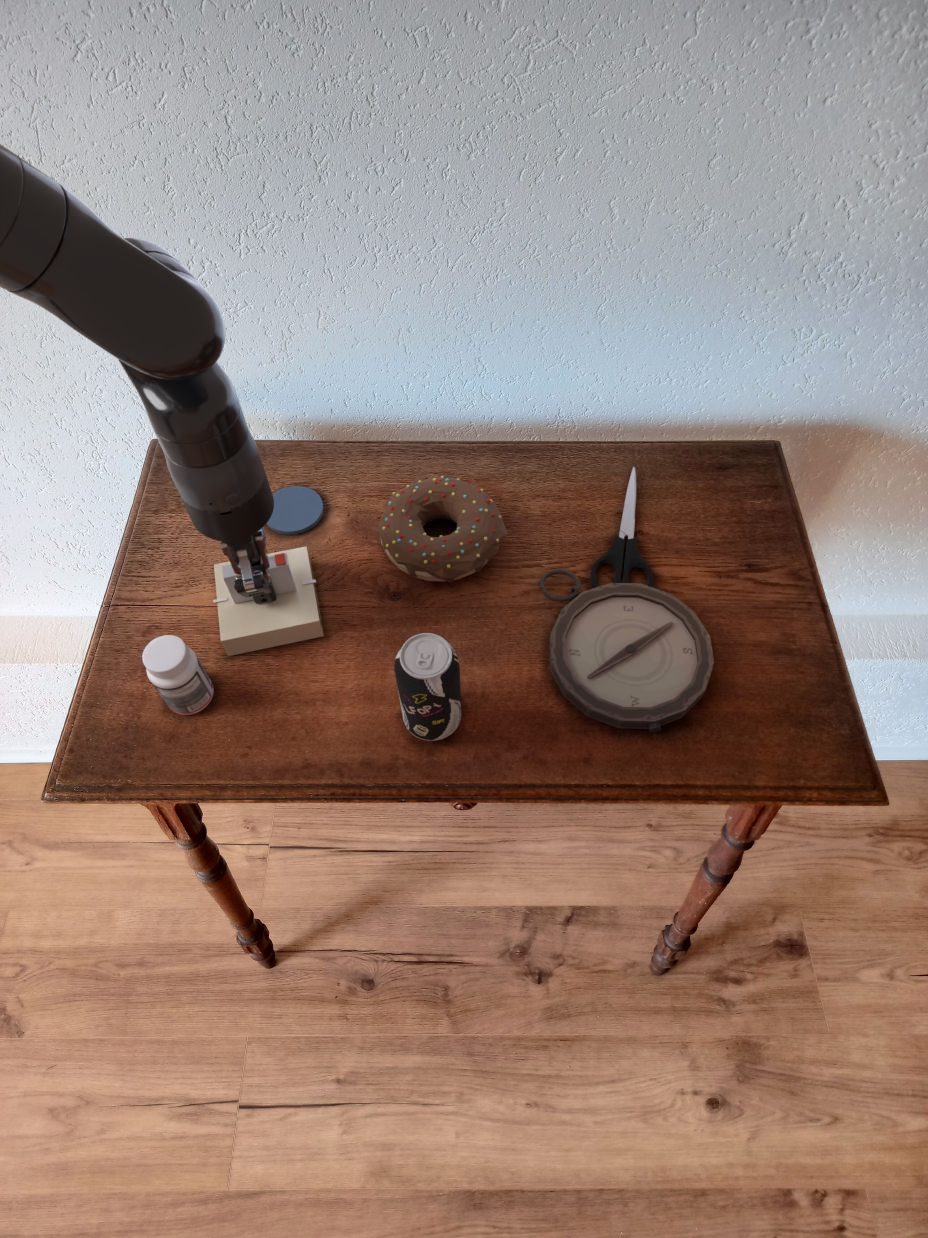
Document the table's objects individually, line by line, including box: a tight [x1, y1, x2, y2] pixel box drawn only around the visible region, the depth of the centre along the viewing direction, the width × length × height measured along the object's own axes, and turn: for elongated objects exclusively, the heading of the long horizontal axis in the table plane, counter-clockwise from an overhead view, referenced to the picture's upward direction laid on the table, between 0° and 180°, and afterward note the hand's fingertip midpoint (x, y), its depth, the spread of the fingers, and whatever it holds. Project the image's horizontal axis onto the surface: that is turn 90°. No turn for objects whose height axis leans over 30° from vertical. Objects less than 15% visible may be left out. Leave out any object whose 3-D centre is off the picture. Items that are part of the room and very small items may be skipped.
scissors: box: [589, 466, 654, 589], centre depth 91 cm, size 7×1×20 cm
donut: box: [377, 475, 509, 584], centre depth 89 cm, size 14×14×5 cm
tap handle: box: [222, 553, 297, 603], centre depth 82 cm, size 6×2×5 cm, turn 104°
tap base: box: [212, 545, 325, 657], centre depth 85 cm, size 11×10×3 cm
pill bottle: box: [141, 634, 215, 716], centre depth 78 cm, size 5×5×8 cm
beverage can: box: [393, 632, 463, 742], centre depth 74 cm, size 6×6×12 cm
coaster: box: [266, 485, 325, 536], centre depth 94 cm, size 7×7×1 cm
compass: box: [538, 568, 715, 734], centre depth 82 cm, size 20×16×2 cm
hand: (265, 591), depth 84 cm, fingers closed on tap handle
